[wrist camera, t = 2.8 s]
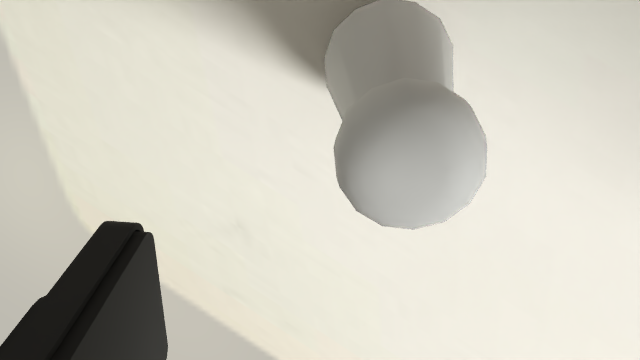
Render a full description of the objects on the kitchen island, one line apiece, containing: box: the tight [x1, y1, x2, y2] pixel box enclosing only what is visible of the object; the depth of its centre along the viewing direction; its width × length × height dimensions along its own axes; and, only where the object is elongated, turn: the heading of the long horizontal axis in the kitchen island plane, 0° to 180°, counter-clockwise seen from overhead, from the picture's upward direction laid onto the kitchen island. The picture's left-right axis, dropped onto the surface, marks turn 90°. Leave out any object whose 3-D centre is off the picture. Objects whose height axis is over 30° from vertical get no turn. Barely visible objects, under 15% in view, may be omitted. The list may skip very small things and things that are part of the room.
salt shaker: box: [324, 0, 487, 229], centre depth 19 cm, size 6×6×13 cm
